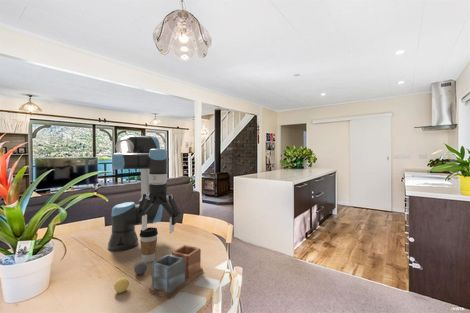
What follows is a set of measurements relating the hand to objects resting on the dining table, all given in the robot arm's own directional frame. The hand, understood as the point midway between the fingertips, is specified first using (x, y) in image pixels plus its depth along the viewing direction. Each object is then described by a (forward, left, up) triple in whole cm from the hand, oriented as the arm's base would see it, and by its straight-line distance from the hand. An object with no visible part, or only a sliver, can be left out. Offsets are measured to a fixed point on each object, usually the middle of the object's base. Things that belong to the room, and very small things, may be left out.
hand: (157, 230), depth 101 cm
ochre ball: (0, -18, -15) cm, 24 cm away
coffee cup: (-11, +5, -17) cm, 21 cm away
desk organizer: (+14, -3, -17) cm, 23 cm away
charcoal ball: (-4, -6, -15) cm, 16 cm away
